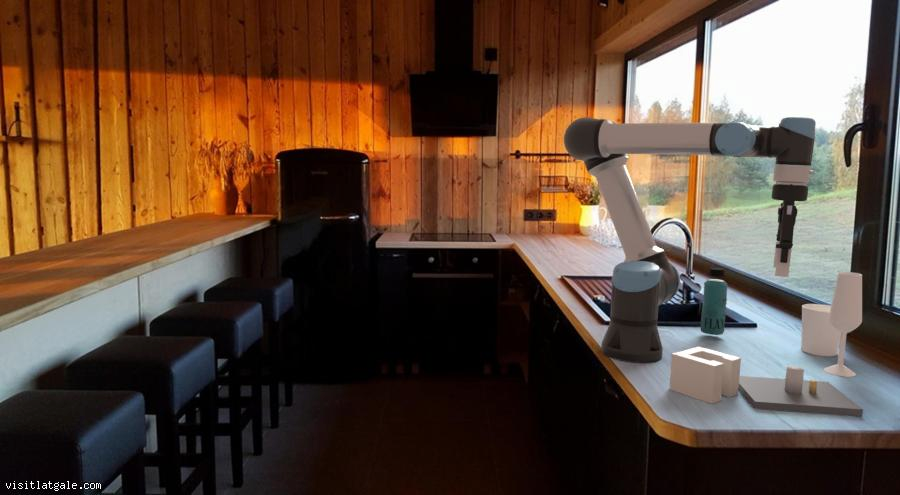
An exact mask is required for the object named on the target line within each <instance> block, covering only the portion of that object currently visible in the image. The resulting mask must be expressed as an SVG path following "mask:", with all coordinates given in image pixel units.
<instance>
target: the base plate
mask: <svg viewBox="0 0 900 495" xmlns="http://www.w3.org/2000/svg"><path fill="white" fill-rule="evenodd" d="M804 375H805V369H804V368H803V367H801V366H796V365H787V366H786V372H785V378H776V377H763V376H762V377H761V376H747V375H740V376H739V388H738V392H740V393H741V394H742V395H743V397H744V398H745V399H746V400H747V402H748V403H749V404H750V405H751V406H752V408H754V410H755V409H756V410H767V411H768V410H770V411H771V410H772V411H782V412H795V413H810V414H821V415H822V414H823V415H835V416H837V415H839V416H850V417H860V418H861V417H863V414H864V413H863V412H864V409H863V408H862V407H861V406H860V405H858V404H857V403H855V402H854V401H853V400H852V399H850V398H849V397H848V396H846V394H844V393H843V392H842V391H841V390H839V389H838V388H837V387H835V386H834V385H832V384H831V383H830V382H828V381H821V380H820V381H819V380H816V379H815V380H814V379H810V380H805V379H804Z"/></svg>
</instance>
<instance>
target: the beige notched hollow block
mask: <svg viewBox="0 0 900 495" xmlns="http://www.w3.org/2000/svg"><path fill="white" fill-rule="evenodd" d="M670 359H671V361H670V373H669V374H670V375H669V389H668V390H670V391H674V392H677V393H680V394H681V395H685V396H688V397H690V398H694V399H696V400H700V401H703V402H705V403H707V404H714V403H717V402H720V401H722V400H721V399H722V396H724V397H725V396H726V397H728V398H731V397H733V396H736V395H738V394H739V390H738V388H739V376H741V375H740V374H741V362H742V357H739V356H735V355H732V354H731V355H730V354H727V353H724V352H720V351H717V350H713V349H709V348H706V347H703V346H696V347H692V348H691V347H690V348H688V349H684V350H681V351H677V352H673V353H671V358H670Z"/></svg>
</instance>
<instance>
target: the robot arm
mask: <svg viewBox="0 0 900 495" xmlns="http://www.w3.org/2000/svg"><path fill="white" fill-rule="evenodd" d="M816 123H817V122H816V120H815V119H814V118H812V117H807V116H804V117H803V116H791V117H790V116H787V117H786V116H785V117H782V118H780V120H779V123H778V125H772V126H771V125H767V126H766V125H752V124H749V123H746V122H743V121H738V120H737V121H736V120H735V121H730V122H662V123H661V122H651V123H649V122H647V123H646V122H643V123H639V122H637V123H633V122H632V123H616V122H614V121H611V120H610V119H603V118H600V119H598V118H593V117H590V116H586V117H585V116H584V117H580V118H577V119H575V120H574V121H572V122H571V123H569V125H568V126H567V128H566V130H565V133H564V134H563V135H564V136H563V145H564V148H565V150H566V152H567V153H568V154H569V156H571V157H572V158H574V159H576V160H578V161H582V162H583V163H584V166H585V168H586V171H587V173H588V175H591V176H593V177H594V178H595V180H596V182H597V184H598V186H599V189H600V192H601V195H602V197H603V200H604V203H605V205H606V208H607V210H608V213H609V216H610V219H611V221H612V224H613V226H614V229H615V231H616V234H617V237H618V239H619V242H620V245H621V248H622V250H623V253H624V256H625V258H624V261H623V262H619V263H618V264H616V265H615V266H614V268H613V270H612V276H611V292H610V293H611V297H610V312H609V313H610V316H609V317H610V318H609V319H610V320H609V323H608V324H609V325H608V327H607V329H606V332H605V334H604V336H603V339H602V341H601V350H600V351H601V353H602V354H603V355H605V356H606V357H608V358H610V359H611V358H612V359H615V360H618V361H623V362H630V363H651V362H657V361H660V360H662V358H663V355H664V354H663V353H664V352H663V351H664V348H663V345H662V341H661V336H660V333H659V329H658V314H659V306H661V305H663V304H667V303H668V302H670V301H671V300H672V299H673V298H674V297H675V296H676V295H677V293H678V291H679V290H680V287H681V276H680V272H679V270H678V269H677V268H676V266H675V265H674V264H673V263H671V262H670V261H669V259H668V256H667V254H666V252H665V250H664V249H663V248H660V247H658V246H657V244H656V241H655V239H654V236H653V234H652V231H651V228H650V226H649V224H648V221H647V218H646V216H645V214H644V213H645V212H644V211H643V207H642V206H641V203H640V200H639V197H638V194H637V192H636V190H635V187H634V184H633V182H632V179H631V177H630V174H629V171H628V169H627V167H626V165H627V162H628V160H629V155H668V156H669V155H670V156H672V155H675V156H678V155H679V156H717V157H718V156H719V157H720V156H721V157H723V156H724V157H726V156H727V157H733V158H770V159H774V158H775V162H774V170H773V177H772V178H773V182H775V183H774V184H773V185H772V189H771V199H772V200H774V201H782V202H780V207H778V209H777V215H778V216H777V223H778V226H777V227H778V228H777V232H776V233H777V234H775V235H776V241H775V250H774V256H773V257H774V258H773V259H774V260H773V268H774V269H775V273H774V276H775V277H784V278H789V273H790V266H791V258H792V257H791V256H792V255H791V254H792V248H793V246H794V243H793V242H794V241H793V240H794V230H795V226H796V222H797V221H796V220H797V216H798V211H799V210H798V208H797V206H796V205H795V202H806V201H808V196H809V195H808V194H809V186H808V185H806V184H808V183H809V182H810V178H811V176H810V175H814V170H813V169H812V168H811V167H812V162H813V154H814V146H815V141H816V136H815V135H816Z"/></svg>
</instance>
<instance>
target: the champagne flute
mask: <svg viewBox="0 0 900 495" xmlns="http://www.w3.org/2000/svg"><path fill="white" fill-rule="evenodd" d="M833 290H834V291H833V296H832V301H831V305H830V306H831V309H830V314H829V320H830V322H831V323H832V325H833V326H834V327H835V328H836V329H837V330H838V331H840V332H841V336H840V342H839V347H838V357H837V363H836V364H833V365H830V366H827V367H824V368H823V371H824V372H825V373H827V374H830V375H833V376H839V377H847V378H850V377H856V376H857V374H856V373H855V372H854V371H853V370H851V369H850V368H849V367H847V366H845V365H844V360H845V352H846V342H847V335H848V333H851V332H852V331H854V330H856V329H857V328H858V327H860V325H861V324H862V322H863V274H861V273H859V272H853V271H852V272H851V271H850V272H849V271H839V272H838V273H837V278H836V281H835V287H834V289H833Z"/></svg>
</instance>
